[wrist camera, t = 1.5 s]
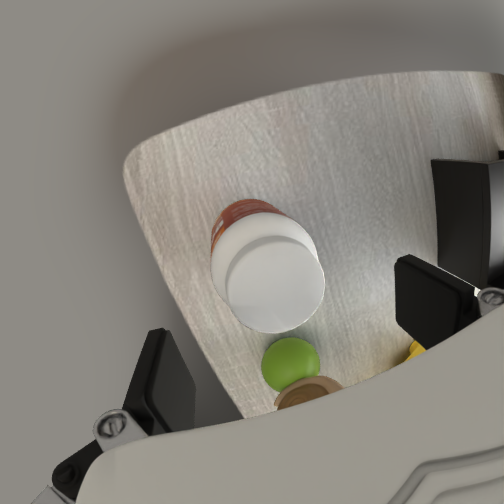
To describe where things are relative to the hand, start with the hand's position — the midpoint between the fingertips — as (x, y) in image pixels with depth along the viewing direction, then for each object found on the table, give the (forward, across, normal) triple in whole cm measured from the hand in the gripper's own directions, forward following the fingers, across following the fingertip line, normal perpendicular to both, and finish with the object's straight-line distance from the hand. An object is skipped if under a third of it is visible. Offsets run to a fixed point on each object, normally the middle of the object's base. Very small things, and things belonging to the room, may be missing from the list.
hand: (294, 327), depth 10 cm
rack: (+14, -28, +2) cm, 31 cm away
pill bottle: (+14, 0, -1) cm, 14 cm away
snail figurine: (+14, -1, +11) cm, 18 cm away
